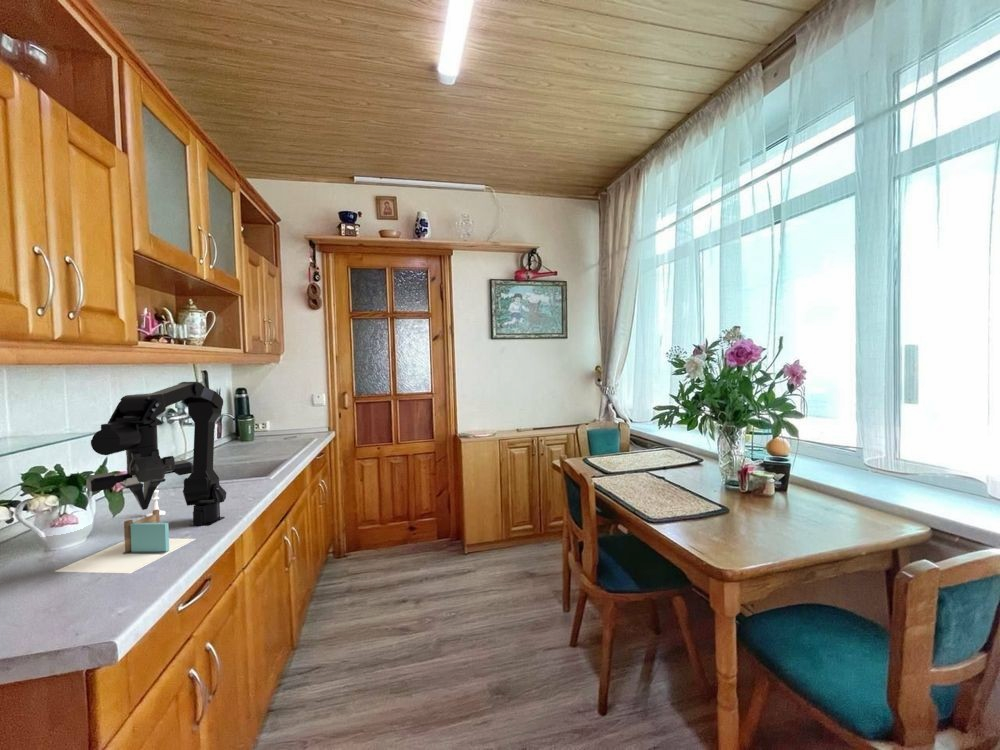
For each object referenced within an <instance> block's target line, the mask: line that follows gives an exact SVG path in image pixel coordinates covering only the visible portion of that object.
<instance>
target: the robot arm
mask: <svg viewBox="0 0 1000 750" xmlns="http://www.w3.org/2000/svg"><path fill="white" fill-rule="evenodd" d="M179 402H181V403H182V405H183V404H184V405H185V406H186V407H187V414H188V416H189V417H190V418H191V420H192V421H193V423H194V428H193V429H194V431H193V432H194V433H193V453H192V454H193V457H192V462H191V461H188V460H185V459H183V460H177V461H176V460H175V457H174V456H173V455H168V456H163V457H161V455H160V450H159V448H158V447H159V446H158V445H159V444H158V443H159V441H158V440H159V439H158V426H161V425H163V423H164V422H163V421H162V420H161V419H158V418H157V417H159V416H160V415H162V414H163V413H164V412H166V409H167V408H168V407H169V406H172V405H174V404H176V403H179ZM223 405H224V398H222V396H220V394H219V393H218V392H217V391H215V390H214V389H211V388H209V387H207V386H204V384H202V382H199V381H181V382H179V383H177V384H175V385H172V386H168V387H165V388H163V389H160V390H158V391H153V392H152V393H151V392H149V393H137V394H136V393H135V394H127V395H124V396H122V397H121V398H120V401H119V402H118V404H117V406H116V407H115V409H114V411H113V413H112V414H111V416H110V417H109V420H108V421H107V423H102V424H100V430H98V431H96V433H94V435H93V436H92V439H90V446H91V448H92V450H93V451H94V452H95V453H97V454H99V455H102V456H110V455H113V454H117V453H122V452H124V451H125V455H126V473H119V474H116V475H115V474H114V473H112V472H105V473H103V472H102V473H97V474H92V475H89V476H88V477H87V478H86V479H85V480H86V482H85V483H86V489H88V490H89V491H90V492H100V491H105V490H110V489H113V487H115V486H116V485H117V484H118V483H120V486H121V487H123V488H125V489H128V490H130V492H131V493H132V494H133V496H134V497H135V500H136V501H137V503H138V505H139V507H140V508H141V510H142V511H145V510H148V508H149V506H150V504H151V503H150V502H151V501H152V500H151V498H153V496H152V495H153V493H154V491H155V489H156V490H157V488H156V487H159V485H160V484H161V483H165V482H166V478H165V476H166V475H168V474H172V473H174V474H176V475H177V476H183V475H184V476H185V475H188V477H185V478H184V479H183V490H182V493H183V494H182V495H183V497H184V500H185V503H186V506H188V507H190V506H193V511H192V522H191V523H190V524H188V525H189V526H192V527H194V526H195V527H196V526H197V527H206V526H207V527H209V526H211V525H214V524H215V523H217V522H220V521H221V520H223V519H225V516H221V508H220V507H221V506H220V504H221V503H224V502H225V500H226V499H227V491H226V490H225V489H224V488H223V487H222V486H221V485H220V477H219V475H218V474H217V473H216V472H215V470H214V456H215V455H214V453H215V452H214V451H215V447H214V446H215V426H216V424H215V423H216V421H217V420H218V418H220V415H222V409H223Z"/></svg>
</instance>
